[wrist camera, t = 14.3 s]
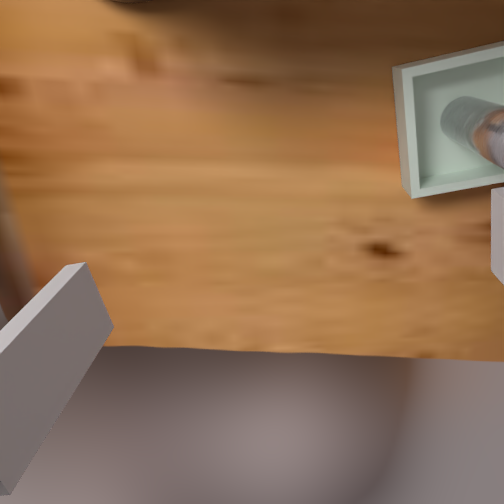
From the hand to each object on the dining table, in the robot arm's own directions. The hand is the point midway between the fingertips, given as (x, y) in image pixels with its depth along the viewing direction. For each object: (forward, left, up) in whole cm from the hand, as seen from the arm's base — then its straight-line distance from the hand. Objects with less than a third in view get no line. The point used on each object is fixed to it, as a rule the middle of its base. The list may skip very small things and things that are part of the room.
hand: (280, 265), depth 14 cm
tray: (+4, +16, -32) cm, 36 cm away
